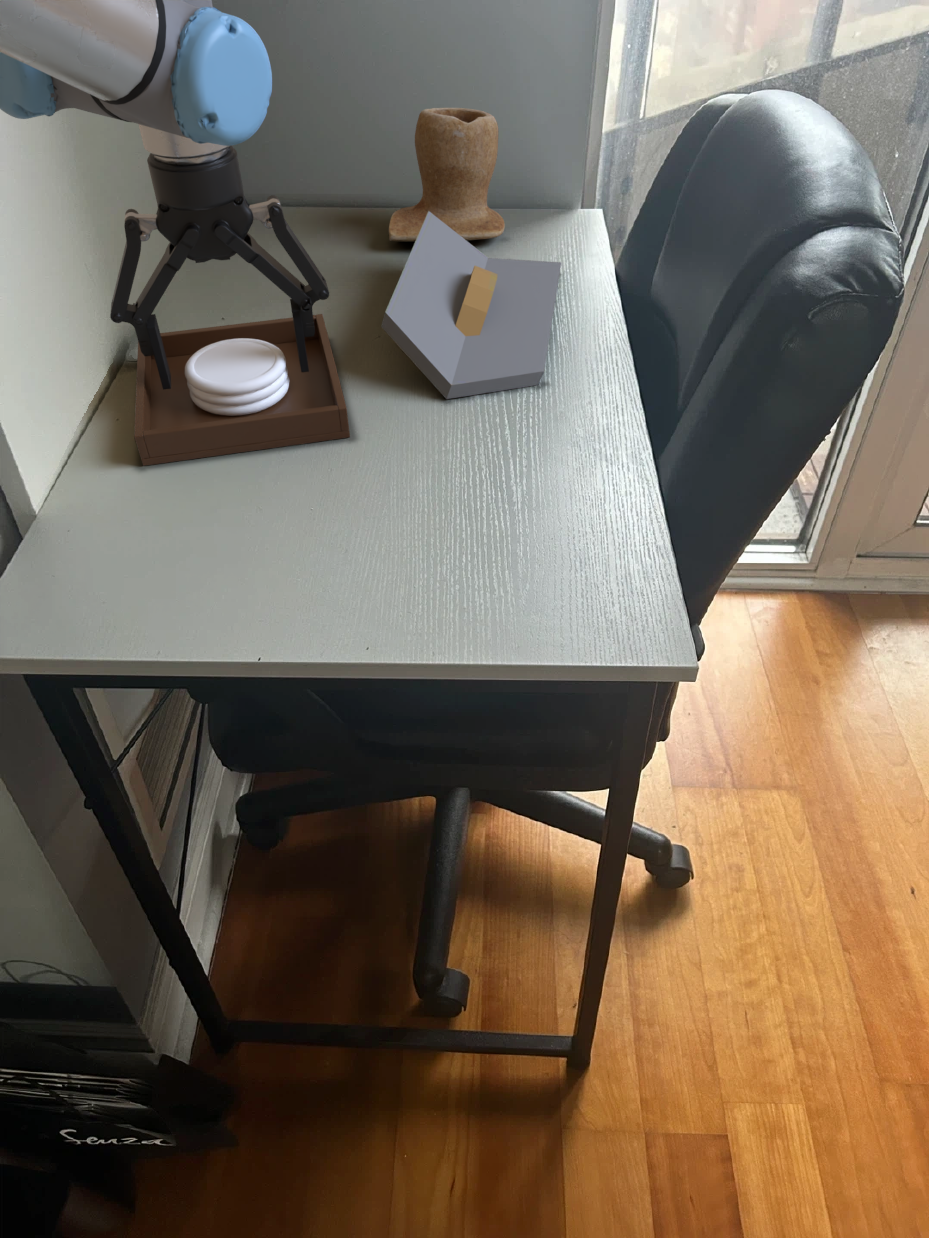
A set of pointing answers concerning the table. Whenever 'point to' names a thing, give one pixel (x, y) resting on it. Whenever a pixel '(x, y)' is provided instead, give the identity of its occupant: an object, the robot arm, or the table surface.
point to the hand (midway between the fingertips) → (236, 374)
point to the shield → (472, 314)
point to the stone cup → (453, 174)
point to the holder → (190, 432)
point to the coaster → (237, 376)
